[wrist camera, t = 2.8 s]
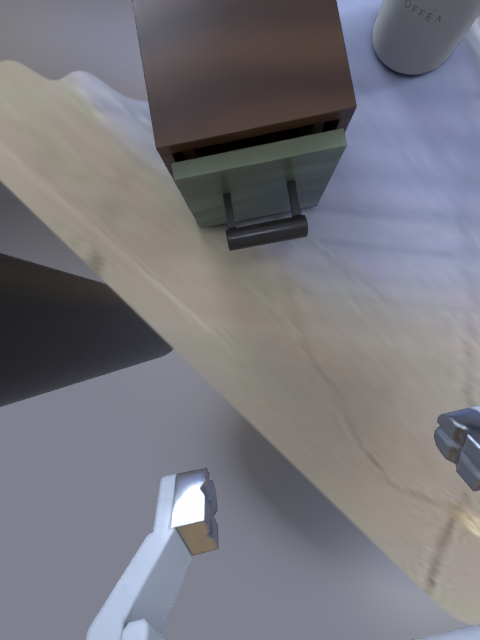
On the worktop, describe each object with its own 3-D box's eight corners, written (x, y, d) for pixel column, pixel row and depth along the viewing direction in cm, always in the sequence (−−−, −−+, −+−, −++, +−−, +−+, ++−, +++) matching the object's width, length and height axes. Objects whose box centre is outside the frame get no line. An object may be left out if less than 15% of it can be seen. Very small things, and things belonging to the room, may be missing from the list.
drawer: (324, 249, 26) (359, 210, 17) (207, 271, 27) (184, 243, 18) (292, 71, 27) (309, -53, 18) (178, 96, 27) (141, -13, 19)
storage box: (317, 192, 27) (357, 106, 17) (193, 216, 28) (155, 148, 17) (291, 52, 28) (314, -117, 17) (170, 79, 28) (120, -68, 18)
